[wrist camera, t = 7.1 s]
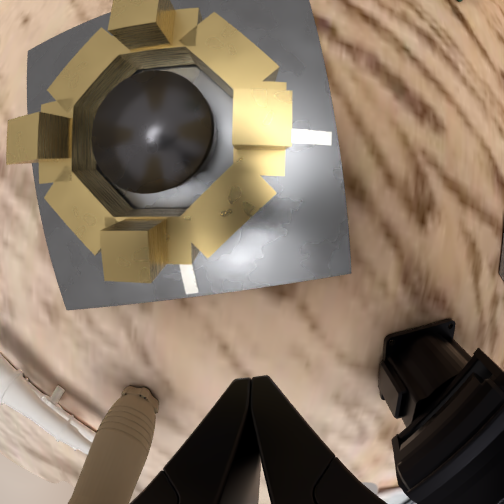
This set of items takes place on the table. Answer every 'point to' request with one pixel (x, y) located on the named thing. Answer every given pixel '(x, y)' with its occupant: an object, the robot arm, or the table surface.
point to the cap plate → (272, 228)
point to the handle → (118, 450)
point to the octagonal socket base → (83, 161)
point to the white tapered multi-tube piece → (42, 408)
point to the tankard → (502, 262)
